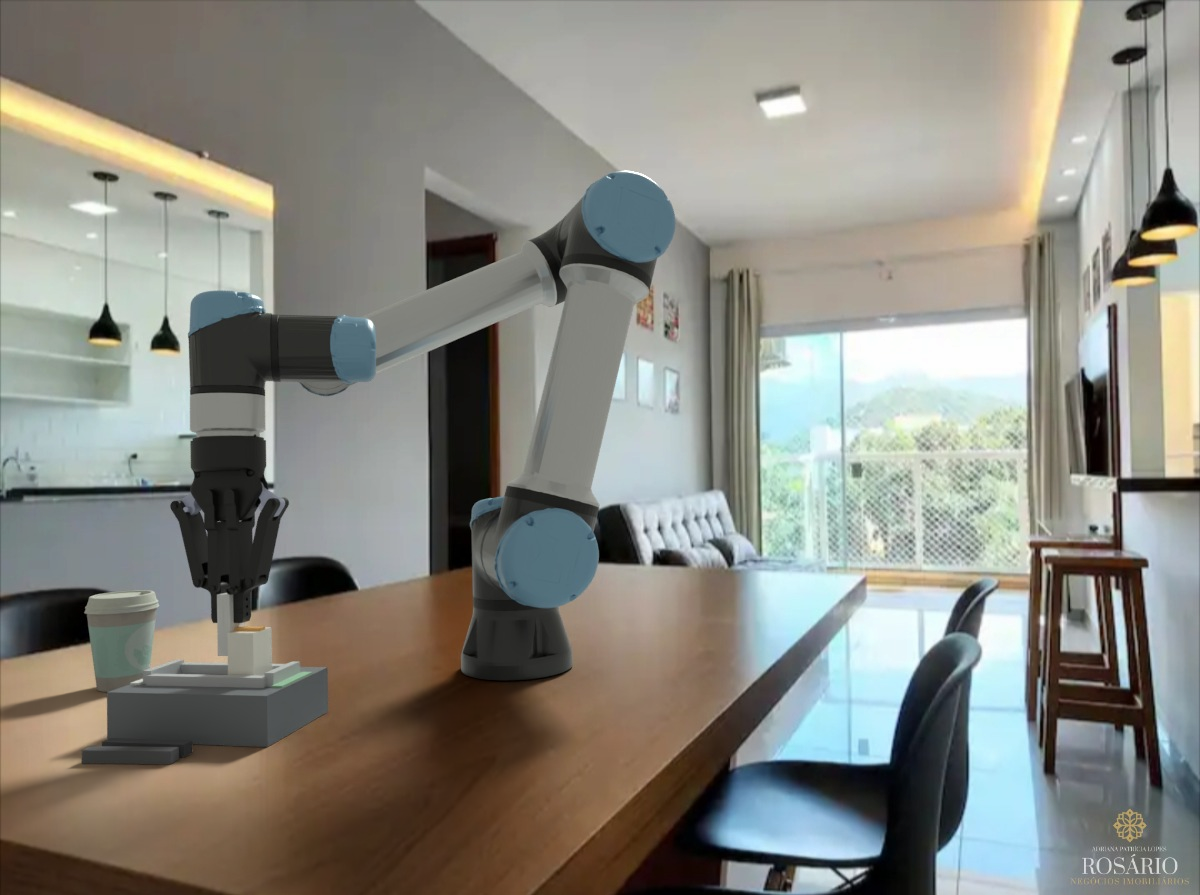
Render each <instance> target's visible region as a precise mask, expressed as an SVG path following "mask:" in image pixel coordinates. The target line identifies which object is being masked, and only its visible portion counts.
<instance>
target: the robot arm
mask: <svg viewBox="0 0 1200 895" xmlns="http://www.w3.org/2000/svg"><path fill="white" fill-rule="evenodd" d="M676 224H677V222H676V214H675V210H674V207H673V205H672V202H671V201H670V199H668V196H667V195H666V193H665V191H664V190H663V188H662V187H661V186H660V185H659V184H658V183H657V182H655V181H654V180H653V179H651V178H650V177H649V176H646V175H644V174H643V173H639V172H635V171H633V170H632V171H631V170H617V171H613V172H610V173H607V174H605V175H604V176H602V177H601V178H599V179H597V180H595V181H594V182H592V183H591V184H590V185H589V187H588V188H587V189H586V191H585V193H584V195H583V196H582V197H581V198H580V199H579V200H578V201H577V203H576V204H575V205H574V206H573V207H571V209H570V210H569V212H567V214H566V215H565V216H563V218H562V219H560V220H559V221H558V222H557V223H556V224H555V225H553V226H552V227H551V228H549V229H548V230H546V231H545V232H543V233H541V234H539V235H538V236H536V237H533V238H531V239H529V240H526V241H524V242H523V243H522V244H521V248H520V250H519V252H517V253H515V254H511V255H510V256H509V255H508V256H507V257H504V258H502V259H500V260H497V261H495V262H493V263H490V264H487V265H485V266H482V267H479V268H478V269H475V270H473V271H470V272H468V273H465V274H463V275H461V276H457V277H456V278H453V279H451V280H449V281H445V282H443V283H440V284H439V285H436V286H433V287H431V288H428V289H426V290H424V291H421V292H418V293H416V294H414V295H411V296H409V297H406V298H404V299H401V300H399V301H397V302H394V303H391V304H389V305H387V306H385V307H382V308H379V309H377V310H374V311H371V312H370V313H369V312H368V313H367V314H365V315H361V316H359V317H357V316H356V317H355V316H349V315H346V314H340V315H308V314H307V315H306V314H303V315H302V314H301V315H300V314H278V313H277V314H275V313H274V314H273V313H272V312H266V309H265V305H264V301H263V300H262V298H261V297H259V296H258V295H256V294H253V293H250V292H242V291H235V290H226V289H225V290H221V289H220V290H219V289H218V290H207V291H203V292H200V293H198V294H196V295H195V296H194V297H193V298H192V300H191V302H190V306H189V307H190V311H189V330H188V333H187V339H188V360H189V363H188V364H189V431H190V432H192V433H193V434H194V433H196V434H195V435H196V437H192V440H190V442H189V443H190V468H191V471H192V472H193V481H192V482H191V485H190V489H189V491H190V492H189V493H188V494H187V495H185V496H184V497H183V498H182V499H179V500H173V501H171V503H170V505H169V506H170V509H171V512H172V513H173V515H174V517H175V518H176V520H177V522H178V525H179V529H180V533H181V537H182V541H183V546H184V550H185V556H186V559H187V563H188V569H189V572H190V577H191V580H192V584H193V586H194V587H195V588H197V589H204V590H205V591H208V592H209V594H210V613H211V614H210V616H211V618H210V619H211V621H212V624H217V625H216V626H217V627H216V628H217V636H216V637H217V638H216V639H217V656H218V657H228V637H227V633H229V632H232V631H234V628H236V627H240V626H246V622H250V620H251V617H252V611H251V610H252V597H251V596H252V591H253V590H254V589H255V588H257V587H261V586H263V585H266V584H267V583H268V581H269V578H270V573H271V568H272V563H273V558H274V553H275V548H276V543H277V539H278V533H279V529H280V525H281V520H282V517H283V515H284V514H285V512H286V511H287V509H288V508H289V505H290V502H289V499H288V498H287V497H279V496H278V495H277V494H275V493H273V492H271V490H269V482H268V481H267V479H266V477H265V469H266V467H267V440H266V439H265V438H264V437H262V436H261V435H260V433H264V431H266V388H265V387H266V382H273V383H278V382H279V383H281V382H286V383H287V382H290V383H299V384H300V385H301V386H302V388H303V389H305V390H306V391H307V392H309V393H310V394H311V393H312V394H314V395H317V396H320V397H332V396H335V395H339V394H340V393H343V392H344V391H346V390H347V389H348V388H349V387H350V386H353V385H354V384H357V383H367V382H372V380H373V379H374V378H375V376H376V374H379V373H381V372H384V371H386V370H388V369H391V368H393V367H396V366H398V365H400V364H403V363H406V362H407V361H410V360H411V359H414V358H417V357H419V356H422V355H423V354H426V353H429V352H431V351H433V350H435V349H438V348H439V347H440V348H441V347H442V346H445V345H447V344H449V343H452V342H455V341H456V340H458V339H461V338H463V337H466V336H468V335H470V334H473V333H475V332H478V331H480V330H482V329H485V328H487V327H489V326H491V325H493V324H496V323H499V322H501V321H503V320H506V319H507V318H510V317H512V316H515V315H516V314H520V313H522V312H524V311H527V310H529V309H531V308H534V307H535V306H539V305H543V306H546V307H547V308H552V307H554V306H557V305H559V304H561V303H562V304H563V307H562V312H561V315H560V320H559V323H558V328H557V332H556V336H555V340H554V344H553V347H552V352H551V357H550V361H549V365H548V368H547V373H546V376H545V381H544V384H543V389H542V393H541V397H540V402H539V405H538V410H537V413H536V417H535V418H536V419H535V421H534V426H533V430H532V433H531V434H532V435H531V438H530V442H529V446H528V451H527V455H526V459H525V463H524V465H523V466H524V467H523V471H522V472H521V474H520V475H519V476H517V477H515V478H514V479H512V480H510V481H509V482H507V484H506V488H505V492H504V496H497V497H493V498H491V497H489V498H485V499H480V500H478V501H477V502H475V503H474V505H473V506H472V508H471V519H470V522H469V527H470V530H471V565H472V567H471V569H472V571H471V572H472V573H471V574H472V616H471V620H470V623H469V626H468V630H467V633H466V637H465V641H464V643H463V645H462V646H463V647H462V650H461V654H460V663H461V664H460V666H461V667H460V668H461V669H460V671H461V672H462V674H464V675H465V676H468V677H471V678H473V679H474V678H475V679H479V680H488V681H523V680H534V679H541V678H547V677H550V676H556V675H560V674H561V673H564V672H567V671H569V670H570V669H572V667H573V664H574V663H573V662H574V661H573V648H572V645H571V641H570V639H569V636H568V633H567V630H566V626H565V624H564V621H563V619H562V615H561V613H560V609H559V608H560V607H562V606H565V605H567V604H569V603H571V602H573V601H575V600H576V599H578V598H579V597H580V596H581V595H582V594H583V593H584V592H585V591H586V590H588V588H589V587H590V585H591V584H592V582H593V580H594V578H595V575H596V573H597V570H598V567H599V561H600V560H599V558H600V550H599V544H598V541H597V538H596V535H595V532H594V531H595V528H596V525H597V524H596V523H597V519H598V518H597V517H598V513H599V509H600V503H599V502H598V500H597V498H596V497H595V495H594V493H593V491H592V486H593V481H594V478H595V477H594V476H595V472H596V469H597V468H596V467H597V464H598V460H599V456H600V450H601V447H602V443H603V438H604V434H605V431H606V430H605V429H606V426H607V422H608V416H609V413H610V409H611V404H612V401H613V400H612V399H613V395H614V391H615V387H616V384H617V383H616V382H617V378H618V373H619V371H620V366H621V362H622V357H623V353H624V349H625V345H626V340H627V338H628V331H629V326H630V325H631V324H630V323H631V319H632V316H633V311H634V306H636V305H637V304H638V303H640V302H642V301H645V299H646V298H648V297H649V294H650V292H651V291H650V290H651V286H652V281H653V277H654V273H655V269H656V264H657V260H658V258H660V257H661V256H663V255H664V254H665V253H666V251H667V249H668V248H669V246H670V245H671V242H672V241H673V239H674V235H675V232H676ZM257 510H259V511H260V513H259V514H258V518H257V522H256V511H257ZM201 511H202V512H203V515H202V513H201ZM255 525H256V526H255ZM254 527H255V531H254V535H253V528H254Z"/></svg>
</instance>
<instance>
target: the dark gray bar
mask: <svg viewBox="0 0 1200 895" xmlns="http://www.w3.org/2000/svg"><path fill="white" fill-rule="evenodd" d="M179 760H180V757H179V747H124V746H102V745H100V746H98V745H97V746H96V745H95V746H94V745H93V746H92V745H90V746H88V747H86V748H84V749H82V750H81V764H114V765H115V764H116V765H117V764H119V765H120V764H122V765H123V764H124V765H130V764H132V765H134V764H135V765H172V764H174V763H176V762H177V761H179Z"/></svg>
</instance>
